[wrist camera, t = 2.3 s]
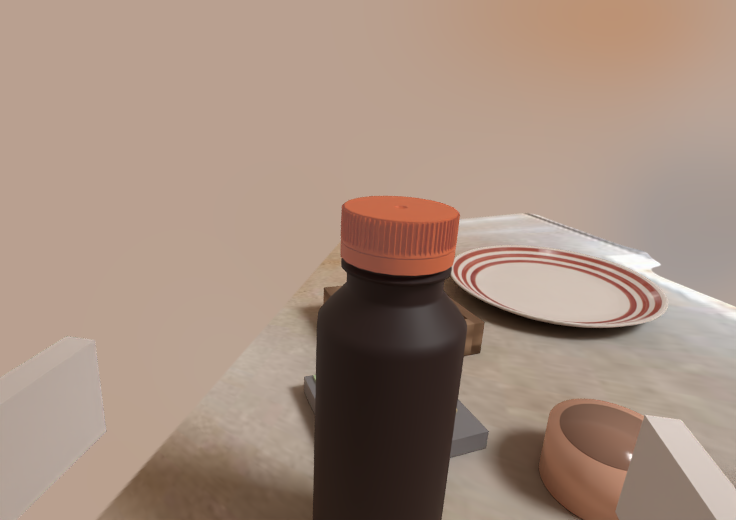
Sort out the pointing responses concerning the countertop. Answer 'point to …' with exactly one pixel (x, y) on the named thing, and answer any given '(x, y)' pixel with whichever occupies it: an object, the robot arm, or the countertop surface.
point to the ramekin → (588, 455)
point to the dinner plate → (558, 286)
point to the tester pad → (466, 426)
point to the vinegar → (388, 364)
